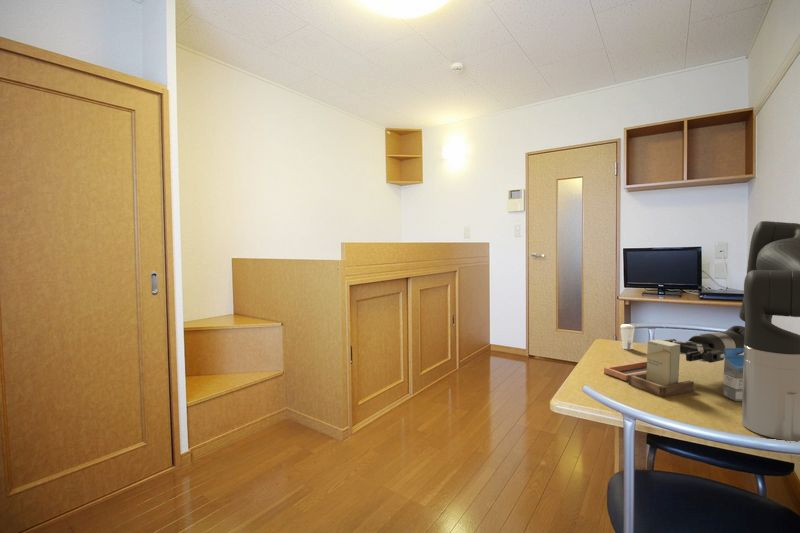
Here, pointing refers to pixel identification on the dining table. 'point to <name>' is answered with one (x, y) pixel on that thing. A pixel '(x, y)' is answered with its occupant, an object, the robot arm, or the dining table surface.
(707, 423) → the dining table surface
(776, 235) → the robot arm
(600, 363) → the dining table surface
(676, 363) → the skincare box
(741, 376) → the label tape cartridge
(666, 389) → the walled bay
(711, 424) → the dining table surface
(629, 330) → the milkshake
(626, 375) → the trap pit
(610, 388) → the dining table surface
